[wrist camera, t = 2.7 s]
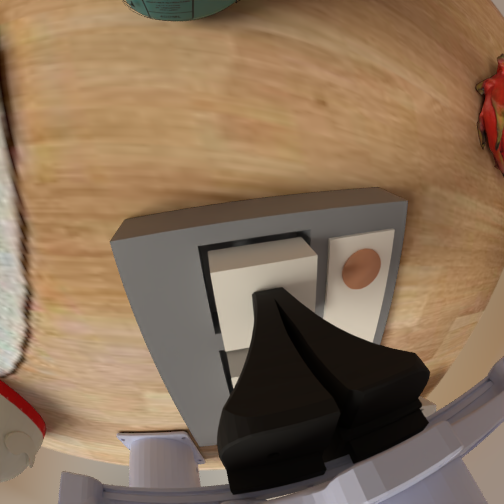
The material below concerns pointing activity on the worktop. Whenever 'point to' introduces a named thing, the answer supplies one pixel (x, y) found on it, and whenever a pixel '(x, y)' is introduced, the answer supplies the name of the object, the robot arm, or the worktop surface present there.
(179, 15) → the beverage bottle
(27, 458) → the kitchen timer
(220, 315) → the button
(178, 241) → the button board
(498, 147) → the dragon fruit
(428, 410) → the die
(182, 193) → the worktop surface
